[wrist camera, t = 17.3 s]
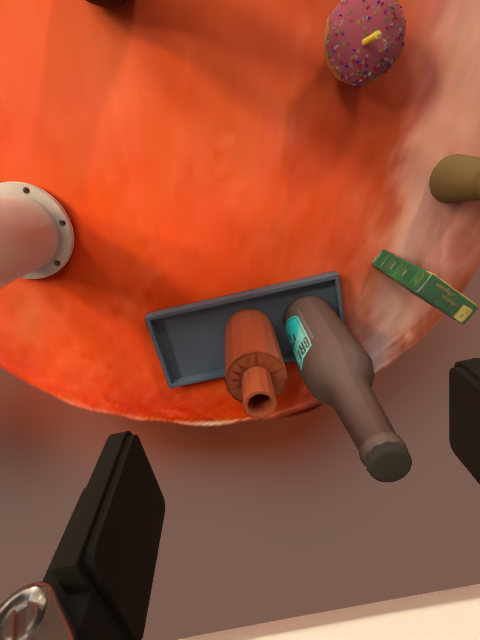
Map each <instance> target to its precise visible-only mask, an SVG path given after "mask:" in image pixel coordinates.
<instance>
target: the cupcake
mask: <svg viewBox="0 0 480 640" xmlns="http://www.w3.org/2000/svg"><path fill="white" fill-rule="evenodd" d="M401 8H402V7H401V6H400V5H399V2H398V1H396V0H341V2H340V3H339V4H338V5H337V6H336V7H335V9H334V10H333V11H332V13H331V14H330V15H329V17H328V19H327V22H326V28H325V35H324V56H325V61H326V64H327V66H328V68H329V69H330V71H331V72H332V74H333V76H334V77H335V78H336V79H338V80H340V81H343V82H345V83H347V84H348V85H352V86H357V87H360V86H365V85H367V84H369V83H372V82H374V81H376V80H377V79H379V78H380V77H382V76H383V75H384V74H386V73H387V72H388V70H389V69H390V68H391V66H392V65H393V63H394V62H395V61H396V60H397V58H398V57H399V55H400V53H401V50H402V47H403V46H404V43H403V42H404V36H405V28H406V27H405V23H406V21H405V20H404V15H403V12H402V9H401Z"/></svg>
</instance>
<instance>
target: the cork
mask: <svg viewBox="0 0 480 640" xmlns="http://www.w3.org/2000/svg"><path fill="white" fill-rule="evenodd" d="M430 189H431V192H432V194H433V196H434V197H435V198H436V199H438V200H439V201H442V202H445V203H447V202H458V201H469V200H480V158H479V157H473V156H467V155H461V154H455V155H450V156H448V157H445V158H444V159H443V160H441V161H440V162H439V163H438V164H437V165H436V167H435V168H434V170H433V172H432V174H431V177H430Z"/></svg>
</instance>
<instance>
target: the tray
mask: <svg viewBox="0 0 480 640" xmlns="http://www.w3.org/2000/svg"><path fill="white" fill-rule="evenodd" d="M304 295H316V296H318V297H320V298H322V299H324V300H325V301H327V302H328V303H329V305H330V306H331V307H332V309H333V310H334V311H335V312H336V314H337V315H338V316H339V318H340V319H341V320H342V321H343V323H344V324H345V320H344V312H343V304H342V295H341V287H340V279H339V274H338V273H337V272H336V271H332V272H328V273H323V274H319V275H314V276H310V277H305V278H301V279H296V280H292V281H288V282H283V283H279V284H274V285H270V286H265V287H261V288H257V289H252V290H248V291H243V292H239V293H234V294H230V295H226V296H221V297H217V298H212V299H208V300H203V301H199V302H194V303H190V304H186V305H181V306H177V307H172V308H168V309H163V310H159V311H155V312H150V313H147V315H146V317H145V321H146V323H147V326H148V329H149V332H150V335H151V338H152V341H153V343H154V346H155V349H156V352H157V355H158V358H159V361H160V363H161V366H162V369H163V372H164V375H165V378H166V380H167V383H168V386H169V388H174V387H179V386H183V385H188V384H193V383H197V382H202V381H207V380H211V379H216V378H221V377H225V327H226V323H227V321H228V319H229V318H230V317H231V316H232V315H233V314H234V313H236V312H237V311H239V310H242V309H247V308H251V309H257V310H260V311H262V312H263V313H265V314H266V315H267V316H268V317H269V319H270V321H271V322H272V325H273V328H274V332H275V335H276V338H277V341H278V344H279V348H280V351H281V354H282V357H283V360H284V364H286V363H290V362H295V361H296V359H295V356H294V354H293V351H292V348H291V346H290V343H289V340H288V338H287V335H286V331H285V327H284V323H283V317H284V311H285V310H286V308H287V307H288V305H289V303H291V302H292V301H293V300H295V299H296V298H297V297H301V296H304Z"/></svg>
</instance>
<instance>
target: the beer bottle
mask: <svg viewBox="0 0 480 640" xmlns="http://www.w3.org/2000/svg"><path fill="white" fill-rule="evenodd" d="M283 323H284V327H285V331H286V335H287V338H288V340H289V343H290V346H291V348H292V351H293V354H294V356H295V359H296V362H297V364H298V367H299V370H300V372H301V375H302V377H303V380H304V382H305V384H306V386H307V388H308V390H309V391H310V392H311V393H312V394H313V395H314V397H315V398H316V399H317V400H319V401H321V402H323V403H325V404H328V405H330V406H333V407H334V409H335V410H336V412H337V414H338V416H339V417H340V419H341V421H342V422H343V424H344V426H345V428H346V429H347V431H348V433H349V435H350V436H351V438H352V440H353V442H354V443H355V445H356V447H357V449H358V450H359V455H360V459H361V461H362V463H363V464H364V465H365V466H366V467H367V471H368V472H369V473H370V475H371V476H372V477H373V478H374V479H376V480H378V481H381V482H394V481H397V480H399V479H401V478H403V477H404V476H405V475H406V474H407V473H408V472H409V470H410V468H411V465H412V459H411V456H410V454H409V452H408V449H407V447H406V445H405V443H404V441H403V440H402V439H401V438H400V436H399V435H397V434H396V433H395V431H394V429H393V427H392V425H391V423H390V422H389V420H388V418H387V416H386V414H385V412H384V411H383V409H382V407H381V405H380V403H379V402H378V400H377V398H376V396H375V394H374V392H373V390H372V389H371V386H372V383H373V379H374V370H373V365H372V360H371V358H370V357H369V355H368V354H367V353H366V351H365V350H364V349H363V347H362V346H361V345H360V343H359V342H358V341H357V340H356V338H355V337H354V336H353V334H352V333H351V332H350V330H349V329H348V328H347V327H346V325H345V324H344V323H343V321H342V320H341V319H340V318H339V316H338V315H337V314H336V312H335V311H334V310H333V309H332V307H331V306H330V305H329V303H328V302H327V301H325V300H324V299H322V298H320V297H318V296H316V295H304V296H301V297H297V298H296V299H295V300H293V301H292V302H291V303H289V305H288V307H287V308H286V310H285V311H284V317H283Z"/></svg>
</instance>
